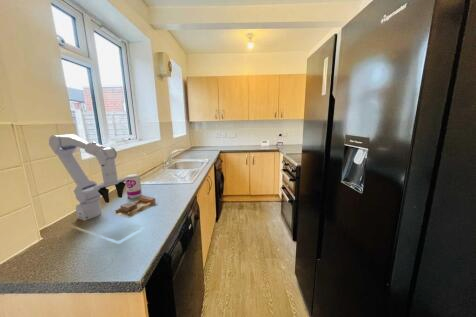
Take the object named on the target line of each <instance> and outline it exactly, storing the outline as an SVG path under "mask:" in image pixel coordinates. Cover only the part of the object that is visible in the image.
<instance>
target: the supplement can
mask: <svg viewBox="0 0 476 317" xmlns="http://www.w3.org/2000/svg"><path fill="white" fill-rule="evenodd" d="M125 178H126V180H127V181H126V182H125V189H126V196H127V199H131V200H134V199H139V197H141V196H143V195H142V194H143V193H142V185H141V178H140V175H139V174H138V173H131V174H127V175H125Z"/></svg>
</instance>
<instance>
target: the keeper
mask: <svg viewBox="0 0 476 317" xmlns="http://www.w3.org/2000/svg"><path fill="white" fill-rule="evenodd" d="M119 208H121V212H123V213H128V212H130V211H132V210H135V209H137V204H135V203H132V202H129V201H128V202H127V203H124V204H121V205H120V207H119Z"/></svg>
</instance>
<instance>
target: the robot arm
mask: <svg viewBox="0 0 476 317" xmlns="http://www.w3.org/2000/svg"><path fill="white" fill-rule="evenodd" d="M48 145H49V147H50V148H51V150H52V151H53V152H54V154H55V155H58V156H57V157H58V159H59V160H60V162H61V163H62V165H63V167H64V168H65V170H66V171H67V172H68V174H69V176H70V177H71V179H72V180H73V182H74V183H75V185H76V186H75V188H74V190H73V193H74V195H75V199H76V200H77V201H78V202H79V203H78V204H76V206H75V210H76V217H77V219H78V220H81V221H85V222H86V221H87V220H90V219H92V218H96V217H98V216H101V215H102V206H101V201H100V199H101V197H102V199H103V201H104V203H107V204H108V203H110V196H109V194H110V193H109V192H110V189H108V187H109V188H110V187H112V186H114V187H115V189H116V194H117V198H123V193H124V189H125V188H126V181H127V180H126V177H121V178H118V174H117V173H118V172H117V166H116V160H115V159H116V158H117V153H118V152H117V150H116V149H115V148H114V147H112V146H108V147H107V146H105V145H101V144H98V142H96V141H90V142H88V141H87V140H84V139H83V138H81V137H79V135H76V134H74V133H72V134H59V135H57V134H56V135H54V134H53V135H51V136H49V139H48ZM77 148H80V149H83V150H84V152H85V153H87V154H88V155H91V156H94V157H95V158H96V160H98V163H99V165H100V168H101V169H100V170H101V175H102V180H103V182H102V183H99V184H98V183H97V182H96V181H93V180H89V178H88V176H87V175H86V173H85V171H84V170H83V169H82V167H81V166H80V164H79V163H78V161H77V159H76V158H75V156H74V155H73V153H75V152H76V150H77Z"/></svg>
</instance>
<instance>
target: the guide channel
mask: <svg viewBox="0 0 476 317" xmlns="http://www.w3.org/2000/svg"><path fill="white" fill-rule="evenodd" d="M131 203H135V204H137V209H135V210H132V211H130V212H128V213H123V212H121V207H119V208H116V209H115V210H114V212H112V214H114V215H119V216H122V217H126V218H131V217H133V216H135V215H137V214H139V213H141V212H143V211H146V210H148V209H149V208H152V207H153V206H155V205H157V204H158V203H157V202H156V198H155V197H151V196H150V197H149V196H145V195H142V196H141V197H139V198H138V199H137V200H134V201H132V202H131Z"/></svg>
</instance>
